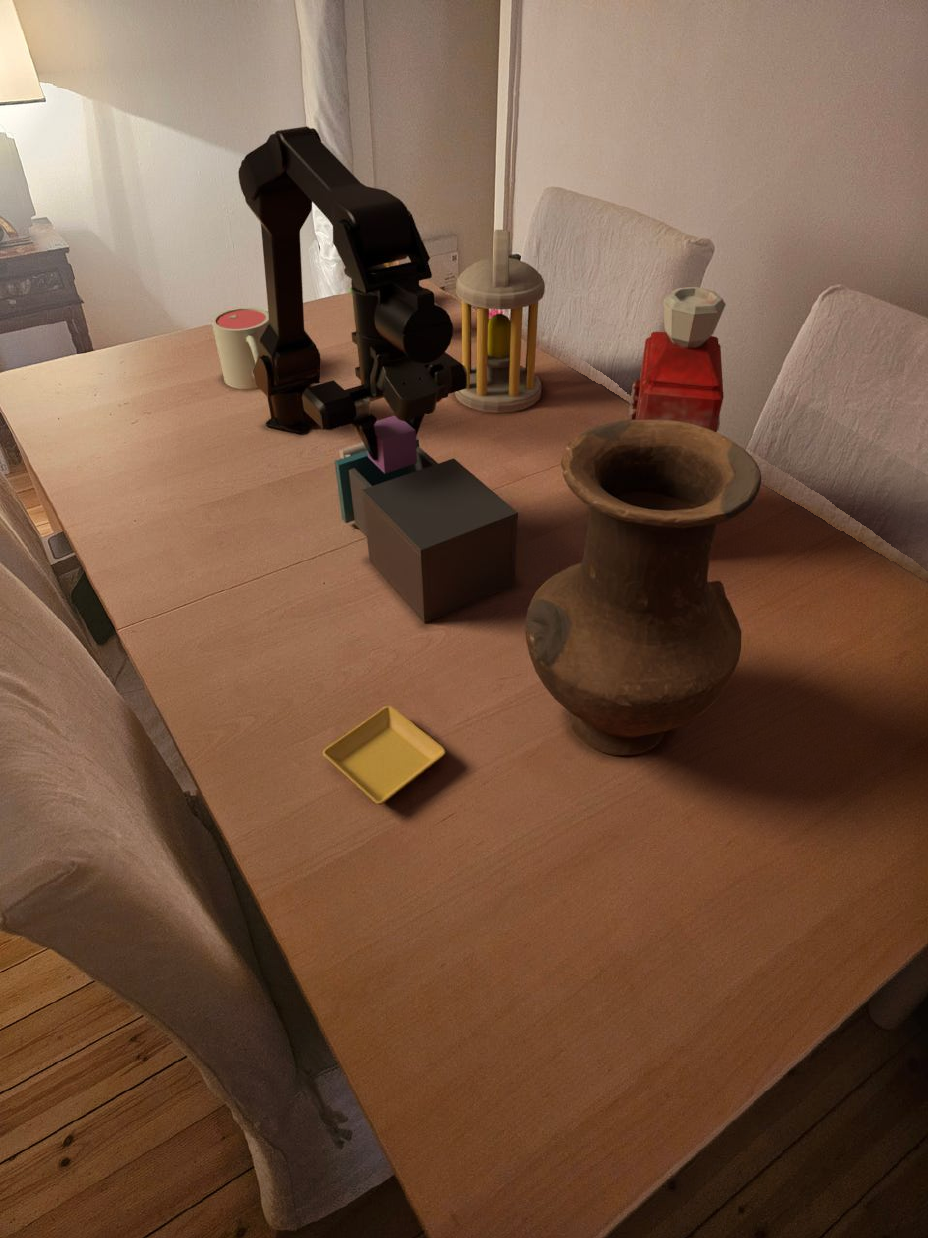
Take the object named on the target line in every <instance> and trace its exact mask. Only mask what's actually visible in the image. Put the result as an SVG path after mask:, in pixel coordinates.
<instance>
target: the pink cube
mask: <svg viewBox="0 0 928 1238" xmlns="http://www.w3.org/2000/svg"><path fill="white" fill-rule="evenodd" d="M374 429H375V435H376V442H377V449H378V455H377V460H373V459H372V458H371V456H370V454H369V453H368V451H367V455H368V458H369V459H370V460H371V461H372V462H373V463H374V464H375V465H376V466H377V467H378V468H379V469H380V470H382V471H383V472H384V473H385V474H386V473H389V472H392V471H395V470H398V469H401V468H404V467H407V466H410V465H413V464H416V463H417V448H416V437H417V436H416V430H415V429H413V428H412V427H411V426H410V425H409V424H408V423H406V422H405V421H401V420H399V419H398V418H397V417H396V416H395V415H391V416H388V417H385V418H382V419H379V420H378V419H377V421H376V423H375V424H374Z"/></svg>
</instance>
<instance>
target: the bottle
mask: <svg viewBox="0 0 928 1238" xmlns="http://www.w3.org/2000/svg"><path fill="white" fill-rule="evenodd" d="M662 303H663V324H664V325H663V326H664V331H652V332H651V333H650V336H649V337H647V338H646V339H645V342H644V347H643V348H644V349H643V355H642V362H641V368H640V374H639V375H640V376H639V379H638V380H635V381H634V383H632V389H631V394H630V401H629V410H628V415H627V416H628V417H627V420H672V421H680V422H685V423H690V424H693V425H697V426H700V427H703V428H706V429H709V430H712V431H714V432H716V433H718V431H719V430H720V427H721V426H720V425H721V417H720V416H721V415H720V414H721V410H722V406H723V401H724V397H725V395H724V384H723V382H724V381H723V365H722V351H721V350H722V349H721V348H722V347H721V344H720V343H719V338H718V337H717V336H714V333H715V331H716V329H717V326H718V323H719V321H720V319H721V316H722V315H723V312H724V310H725V307H726V306H727V305H726V302H725V301H724V299H723V298H722V297H721V296H720V295H719V294H718V293H717V292H716V291H715V290H712V289H707V288H702V287H698V286H689V287H688V286H687V287H677V288H675V289H674V290H673V291H671V292H670V293H668V295H667V296H666V297H664V299H663V300H662Z"/></svg>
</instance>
